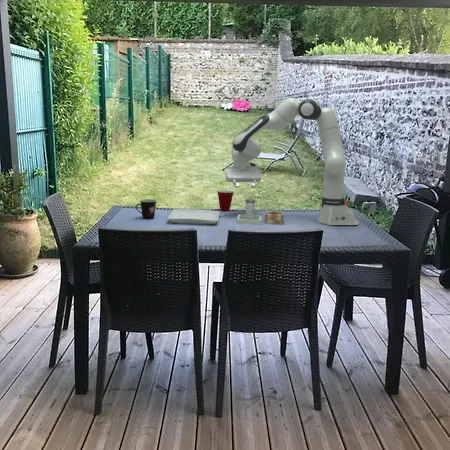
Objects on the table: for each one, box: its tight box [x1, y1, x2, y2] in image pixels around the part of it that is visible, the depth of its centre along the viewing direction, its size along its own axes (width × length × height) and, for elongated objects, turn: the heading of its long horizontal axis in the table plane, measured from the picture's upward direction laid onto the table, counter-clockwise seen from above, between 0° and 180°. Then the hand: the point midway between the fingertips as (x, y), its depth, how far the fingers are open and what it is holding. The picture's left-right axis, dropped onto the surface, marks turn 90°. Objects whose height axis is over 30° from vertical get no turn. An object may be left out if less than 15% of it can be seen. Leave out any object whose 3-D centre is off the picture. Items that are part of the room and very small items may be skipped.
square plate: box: [166, 208, 221, 225], centre depth 282 cm, size 27×27×4 cm
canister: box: [244, 198, 256, 220], centre depth 277 cm, size 5×5×12 cm
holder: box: [264, 210, 285, 226], centre depth 278 cm, size 10×10×6 cm
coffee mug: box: [135, 198, 157, 221], centre depth 281 cm, size 12×9×10 cm
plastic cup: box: [216, 190, 235, 212], centre depth 311 cm, size 11×11×12 cm
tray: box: [236, 214, 263, 225], centre depth 278 cm, size 13×13×3 cm
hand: (245, 187), depth 285 cm, fingers open, 8 cm apart
